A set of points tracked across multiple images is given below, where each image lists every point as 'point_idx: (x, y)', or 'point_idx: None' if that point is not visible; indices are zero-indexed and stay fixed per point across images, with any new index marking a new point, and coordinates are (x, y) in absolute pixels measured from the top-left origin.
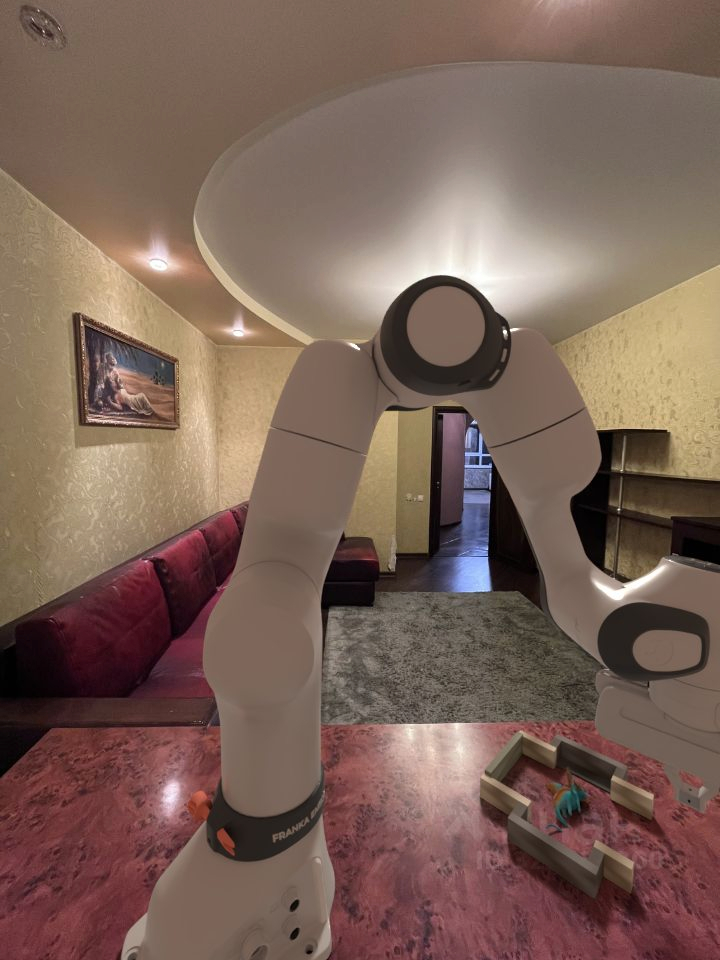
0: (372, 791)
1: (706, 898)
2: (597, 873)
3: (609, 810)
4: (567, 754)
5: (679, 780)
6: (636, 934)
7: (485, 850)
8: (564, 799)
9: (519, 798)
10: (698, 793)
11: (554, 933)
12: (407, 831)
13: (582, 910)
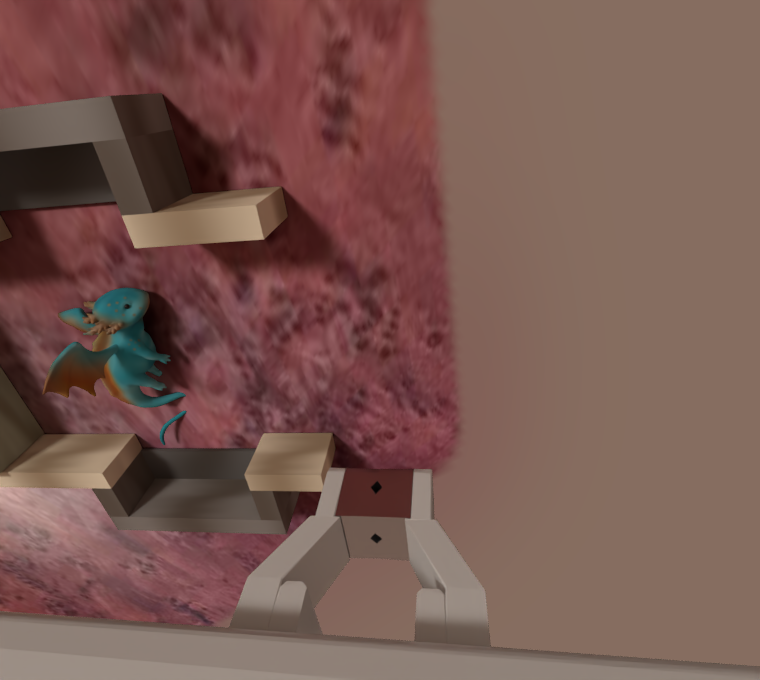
0: None
1: (446, 363)
2: (285, 522)
3: (201, 272)
4: None
5: (331, 552)
6: None
7: None
8: (126, 384)
9: (85, 483)
10: (405, 538)
11: None
12: (68, 558)
13: (296, 512)
